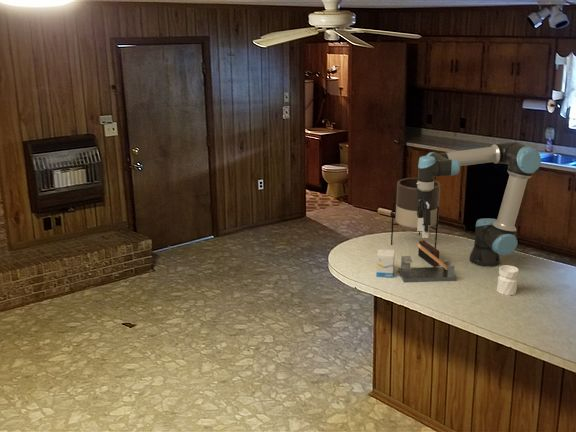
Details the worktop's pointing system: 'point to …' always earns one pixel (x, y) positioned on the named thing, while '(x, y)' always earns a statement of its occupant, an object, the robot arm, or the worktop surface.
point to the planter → (413, 205)
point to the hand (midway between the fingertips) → (422, 234)
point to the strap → (432, 256)
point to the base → (429, 274)
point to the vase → (507, 279)
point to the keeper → (405, 263)
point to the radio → (431, 250)
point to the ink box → (385, 263)
